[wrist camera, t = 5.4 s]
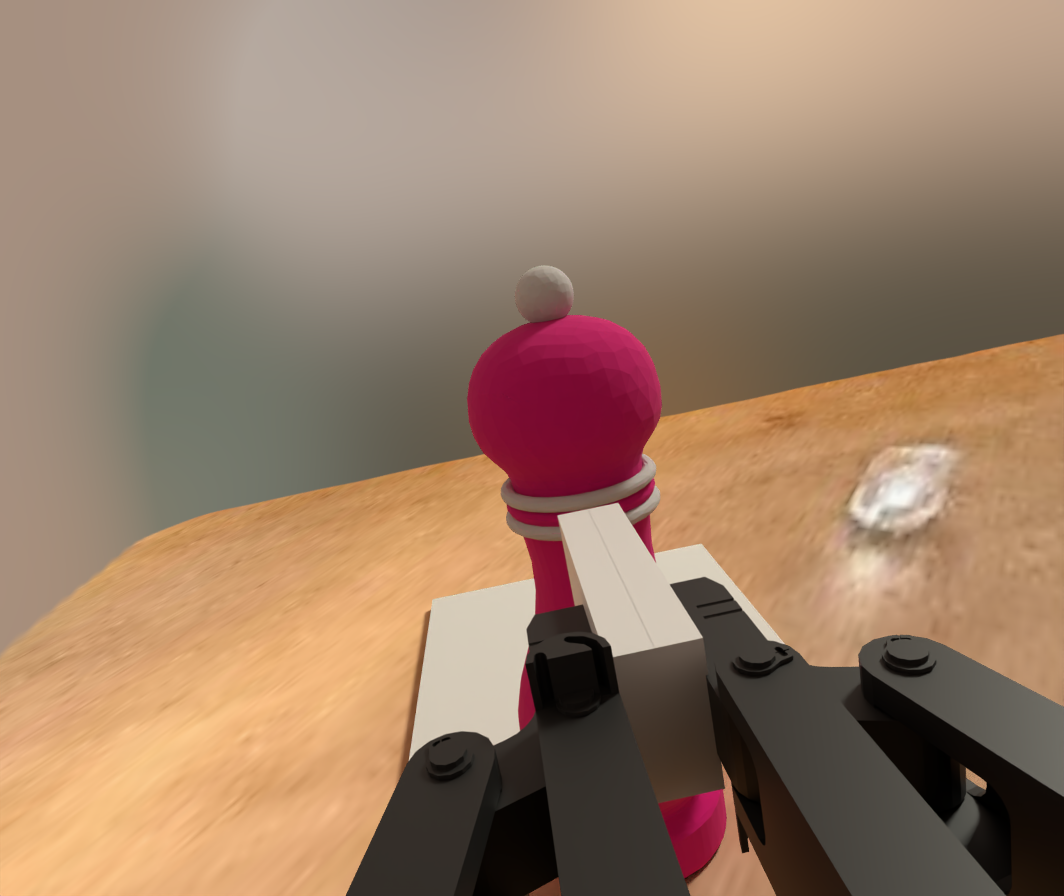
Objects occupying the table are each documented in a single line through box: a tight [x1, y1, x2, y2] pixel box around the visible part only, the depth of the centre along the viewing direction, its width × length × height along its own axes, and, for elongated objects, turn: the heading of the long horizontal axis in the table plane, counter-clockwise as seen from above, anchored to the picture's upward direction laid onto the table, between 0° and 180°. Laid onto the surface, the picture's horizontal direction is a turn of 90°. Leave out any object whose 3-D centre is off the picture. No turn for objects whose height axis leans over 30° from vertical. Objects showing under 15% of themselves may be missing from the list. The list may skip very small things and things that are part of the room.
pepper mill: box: [467, 266, 727, 879], centre depth 23 cm, size 7×7×20 cm
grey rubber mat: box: [409, 544, 784, 760], centre depth 38 cm, size 16×18×1 cm
